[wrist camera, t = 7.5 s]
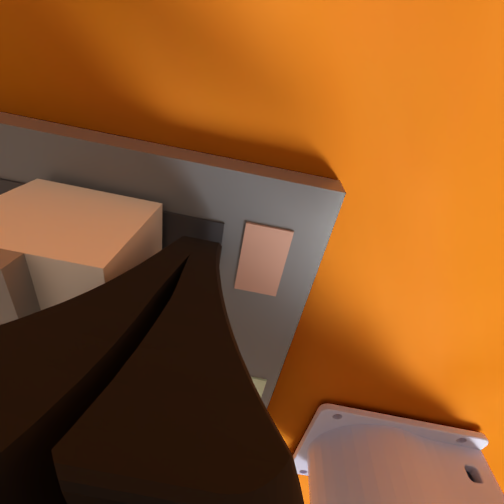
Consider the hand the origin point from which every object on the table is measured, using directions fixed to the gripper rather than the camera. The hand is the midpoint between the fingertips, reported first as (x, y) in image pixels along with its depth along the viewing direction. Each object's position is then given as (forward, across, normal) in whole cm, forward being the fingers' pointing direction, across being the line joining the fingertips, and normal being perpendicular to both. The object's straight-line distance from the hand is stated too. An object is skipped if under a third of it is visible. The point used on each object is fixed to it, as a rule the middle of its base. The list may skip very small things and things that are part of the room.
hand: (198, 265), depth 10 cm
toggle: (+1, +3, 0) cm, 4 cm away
